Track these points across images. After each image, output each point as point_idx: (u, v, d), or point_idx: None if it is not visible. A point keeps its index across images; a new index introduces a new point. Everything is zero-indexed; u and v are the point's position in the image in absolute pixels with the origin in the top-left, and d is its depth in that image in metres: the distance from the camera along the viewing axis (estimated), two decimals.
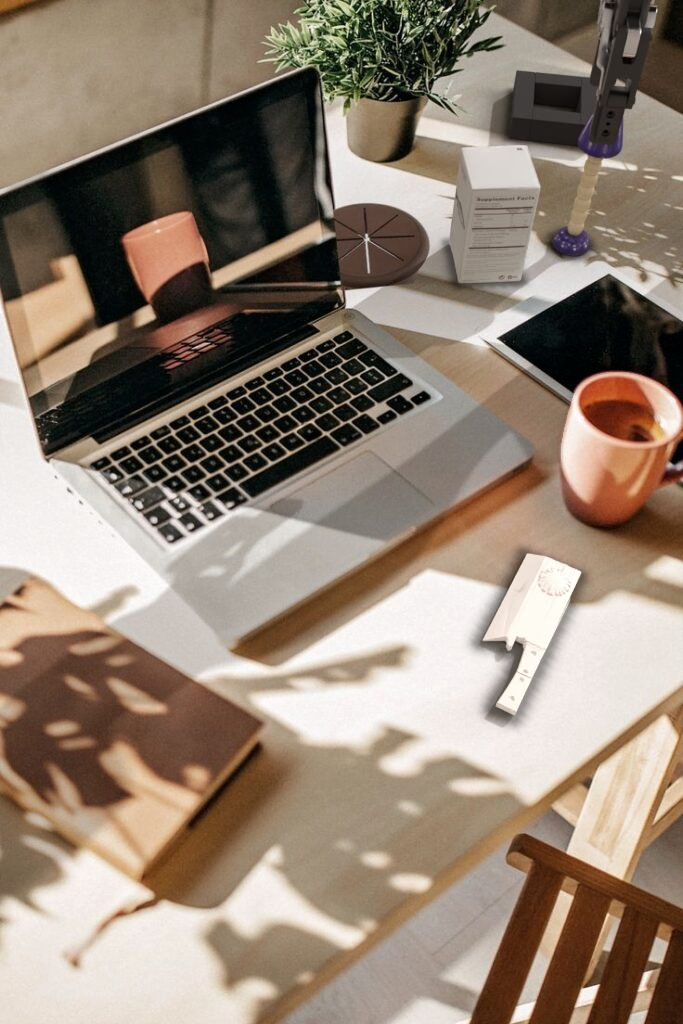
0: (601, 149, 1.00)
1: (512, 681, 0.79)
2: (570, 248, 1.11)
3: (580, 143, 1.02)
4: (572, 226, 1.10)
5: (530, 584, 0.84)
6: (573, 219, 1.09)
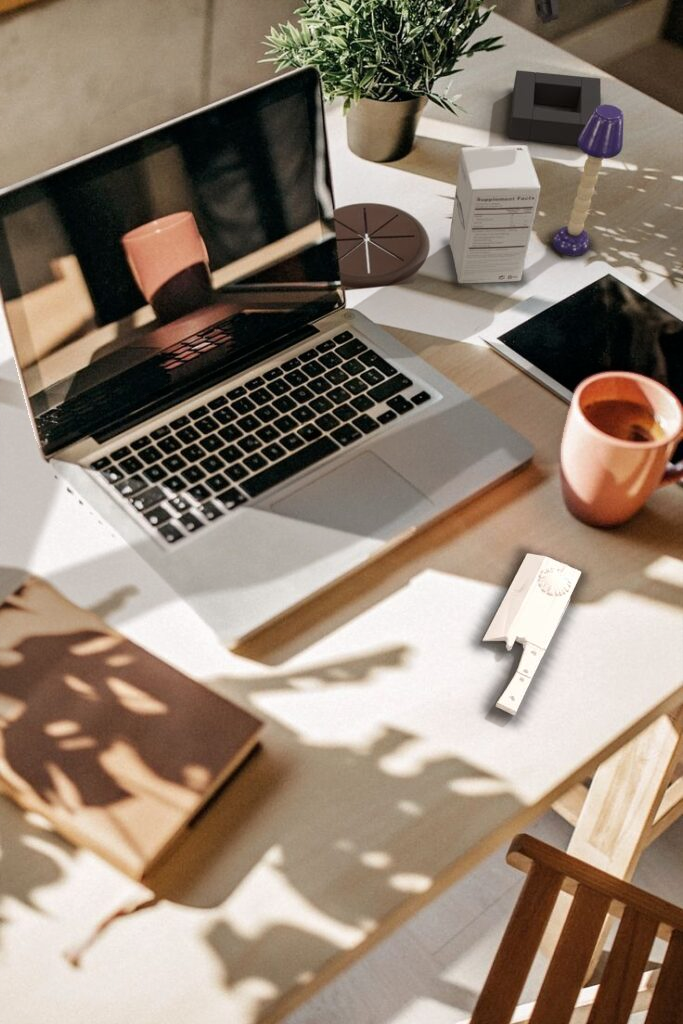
0: (601, 149, 1.00)
1: (512, 681, 0.79)
2: (570, 248, 1.11)
3: (580, 143, 1.02)
4: (572, 226, 1.10)
5: (530, 584, 0.84)
6: (573, 219, 1.09)
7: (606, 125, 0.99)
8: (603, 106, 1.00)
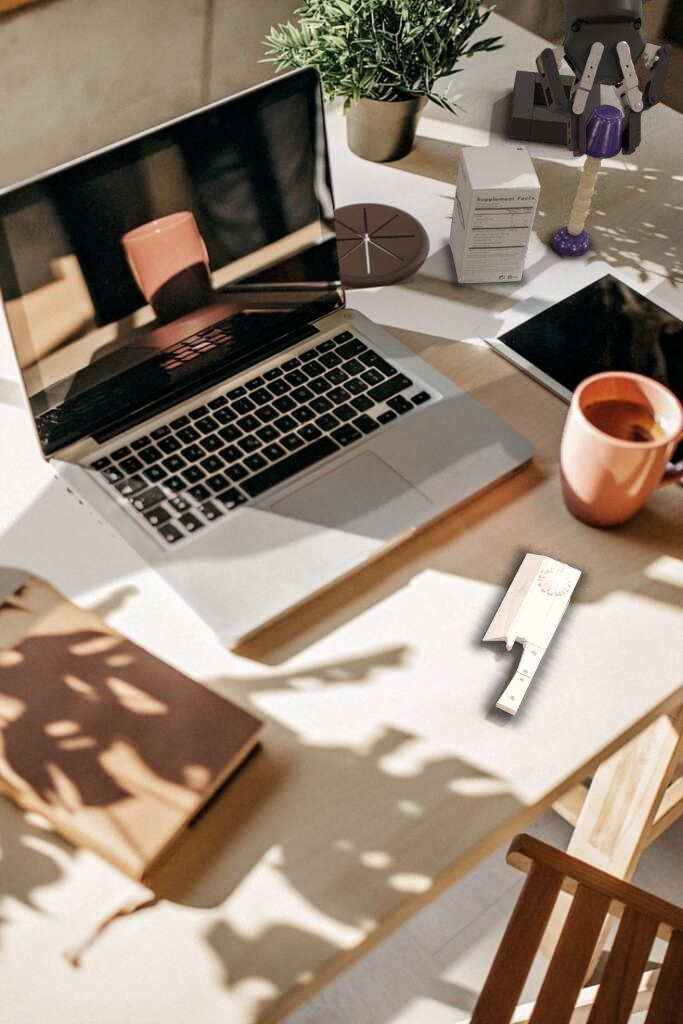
0: (601, 149, 1.00)
1: (512, 681, 0.79)
2: (570, 248, 1.11)
3: None
4: (572, 226, 1.10)
5: (530, 584, 0.84)
6: (572, 219, 1.09)
7: (605, 126, 0.99)
8: (602, 106, 1.00)
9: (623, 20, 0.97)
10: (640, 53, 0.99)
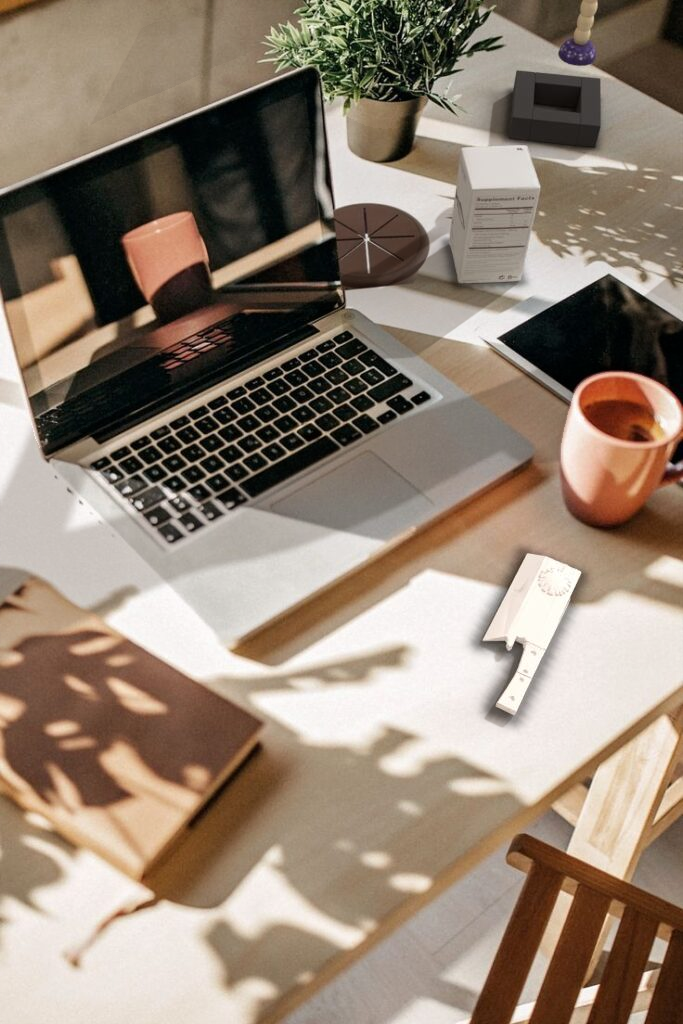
0: None
1: (512, 681, 0.79)
2: (576, 57, 1.10)
3: None
4: (578, 34, 1.09)
5: (530, 584, 0.84)
6: (579, 25, 1.08)
7: None
8: None
9: None
10: None
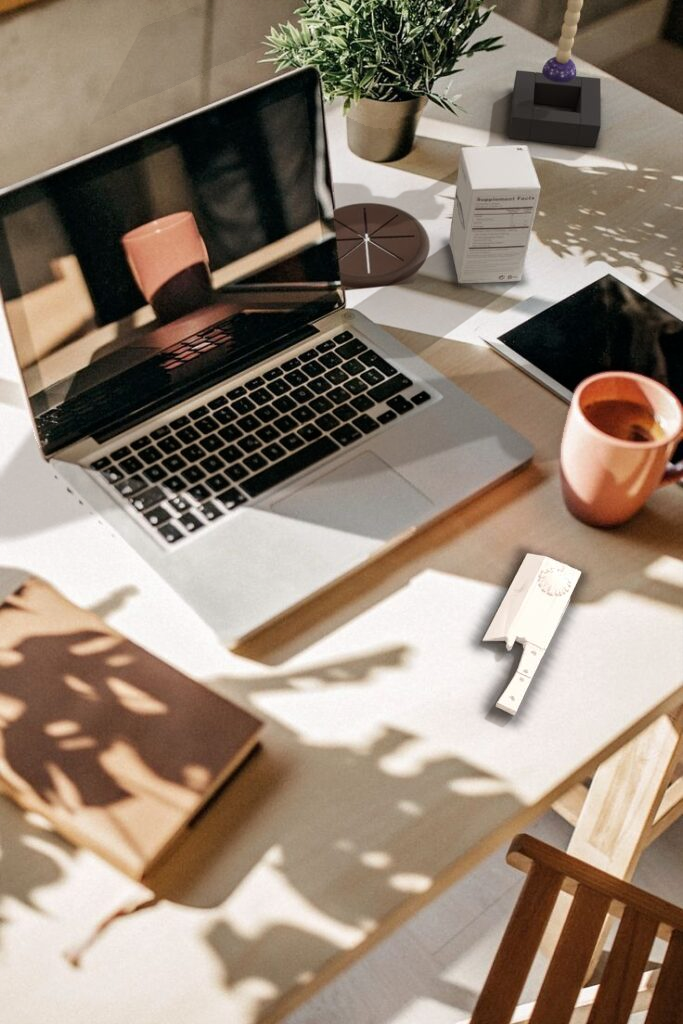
0: None
1: (512, 681, 0.79)
2: (558, 75, 1.21)
3: None
4: (560, 53, 1.20)
5: (530, 584, 0.84)
6: (560, 46, 1.19)
7: None
8: None
9: None
10: None
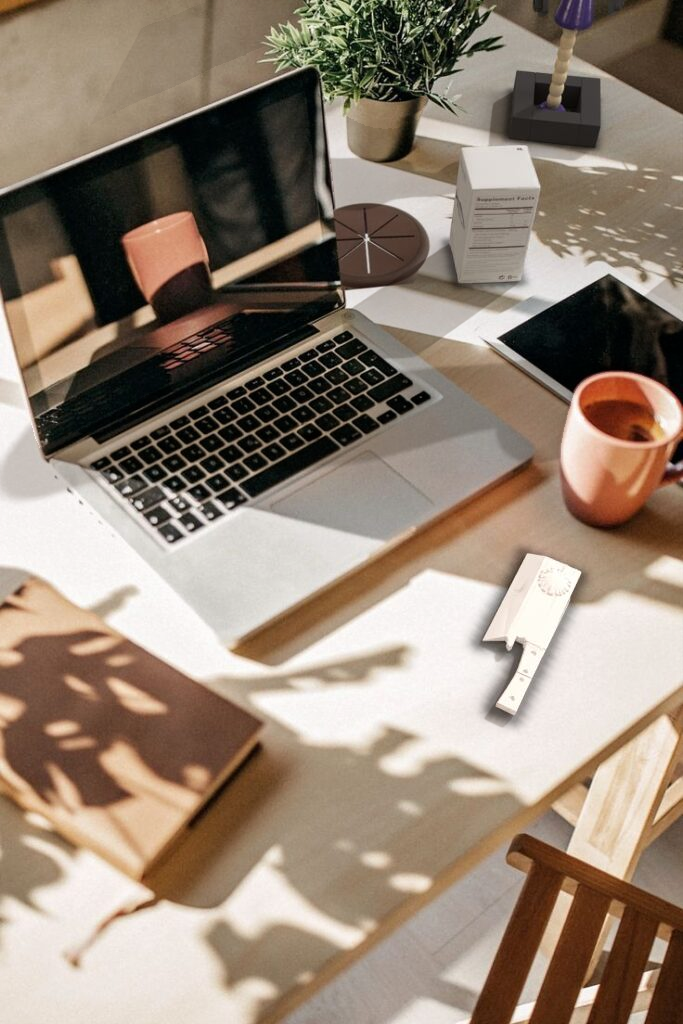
0: (574, 21, 1.15)
1: (512, 681, 0.79)
2: None
3: (556, 18, 1.16)
4: (551, 99, 1.25)
5: (530, 584, 0.84)
6: (551, 92, 1.24)
7: None
8: None
9: None
10: None
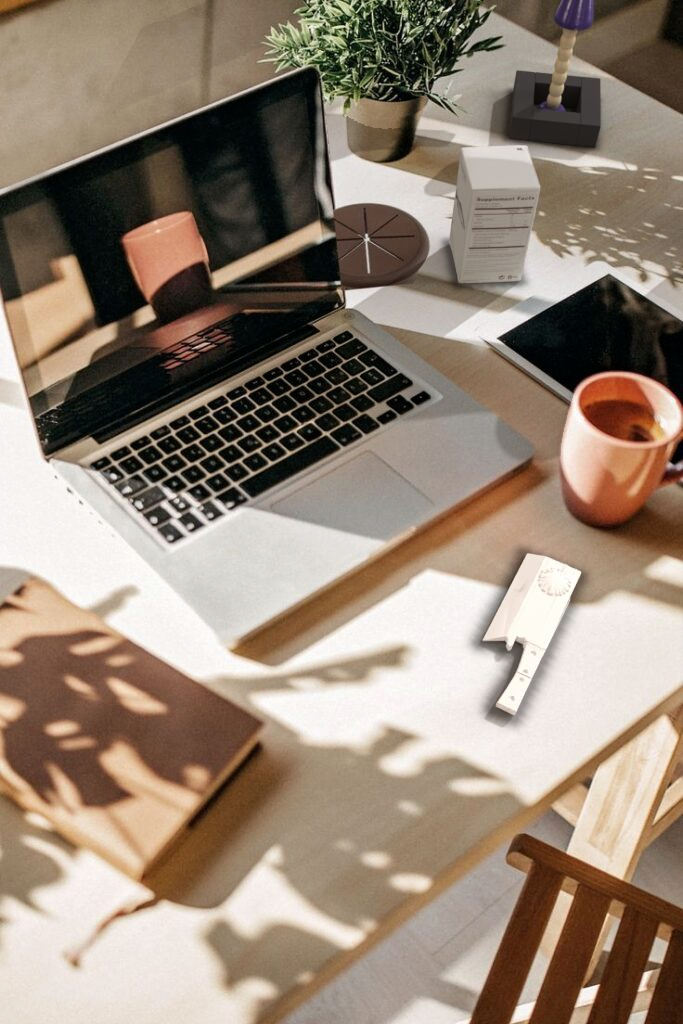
0: (574, 21, 1.15)
1: (512, 681, 0.79)
2: None
3: (556, 18, 1.16)
4: (551, 99, 1.25)
5: (530, 584, 0.84)
6: (551, 92, 1.24)
7: None
8: None
9: None
10: None
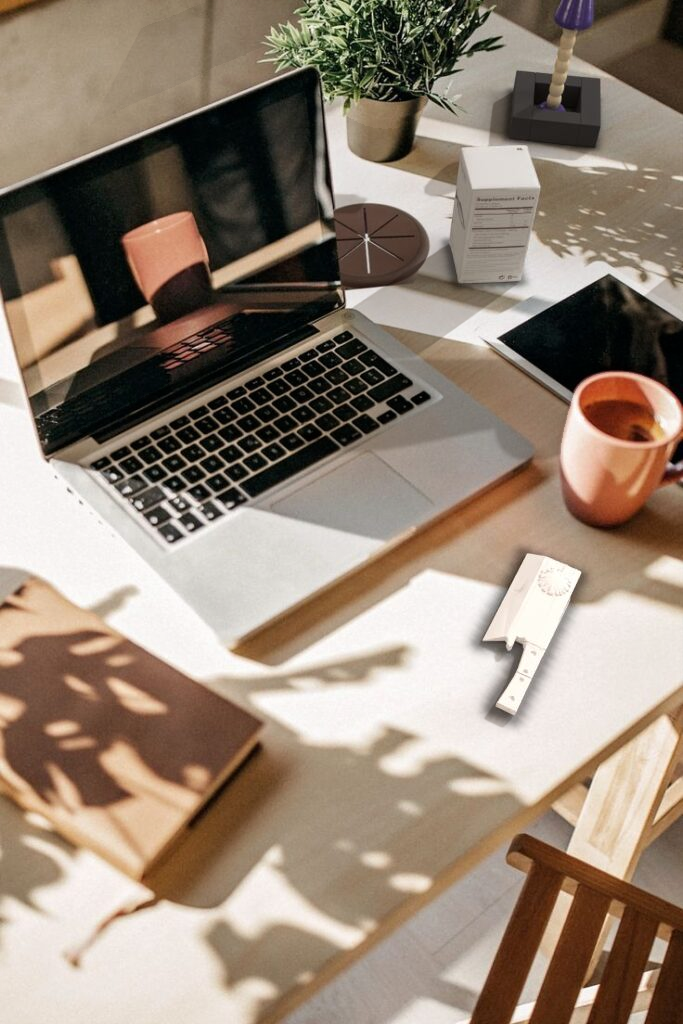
0: (574, 21, 1.15)
1: (512, 681, 0.79)
2: None
3: (556, 18, 1.16)
4: (551, 99, 1.25)
5: (530, 584, 0.84)
6: (551, 92, 1.24)
7: None
8: None
9: None
10: None
